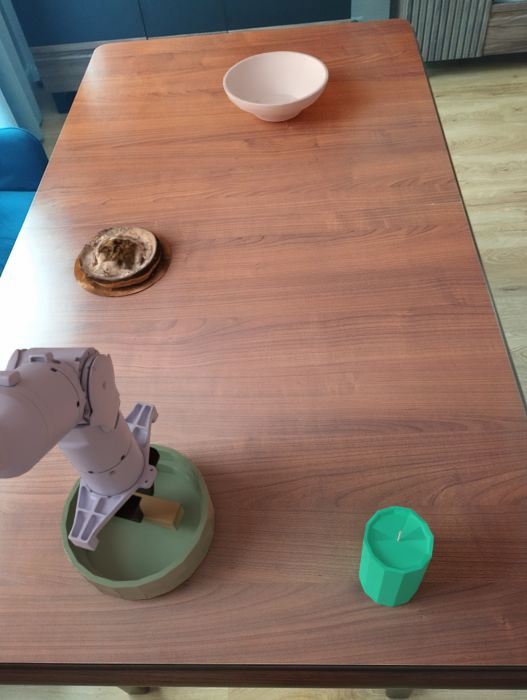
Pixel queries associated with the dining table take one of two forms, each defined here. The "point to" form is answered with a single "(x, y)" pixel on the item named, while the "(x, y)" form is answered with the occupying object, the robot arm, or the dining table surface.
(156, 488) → the mixing bowl
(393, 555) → the candle
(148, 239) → the brown mottled round dish
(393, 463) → the dining table surface
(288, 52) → the bowl
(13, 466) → the robot arm
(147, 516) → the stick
